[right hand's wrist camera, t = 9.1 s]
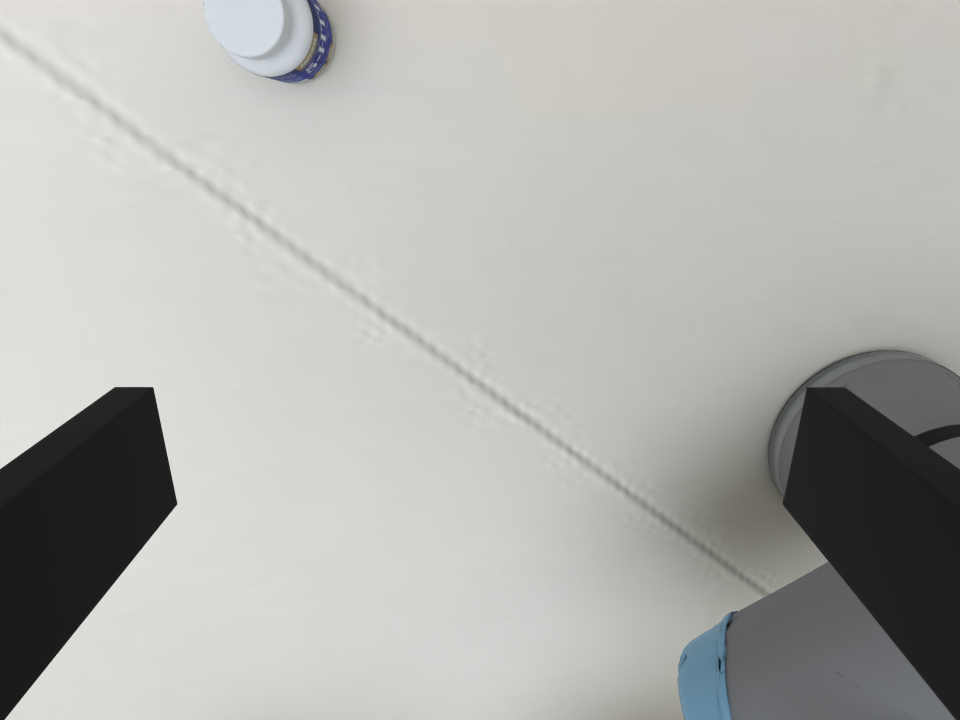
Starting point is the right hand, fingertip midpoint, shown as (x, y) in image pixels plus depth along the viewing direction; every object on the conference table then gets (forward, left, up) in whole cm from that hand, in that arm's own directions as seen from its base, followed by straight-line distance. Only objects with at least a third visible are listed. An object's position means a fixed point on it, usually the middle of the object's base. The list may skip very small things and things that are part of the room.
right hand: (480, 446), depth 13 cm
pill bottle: (+10, -13, -32) cm, 36 cm away
